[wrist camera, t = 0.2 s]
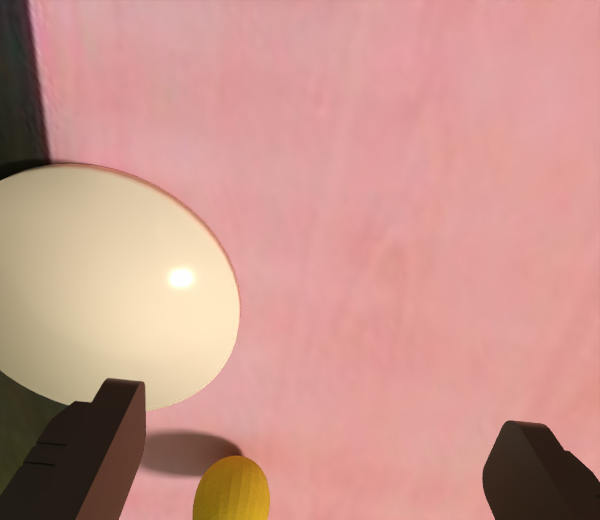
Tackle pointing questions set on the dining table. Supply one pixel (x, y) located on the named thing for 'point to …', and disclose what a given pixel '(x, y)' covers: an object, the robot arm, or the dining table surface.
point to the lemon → (232, 491)
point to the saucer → (110, 286)
